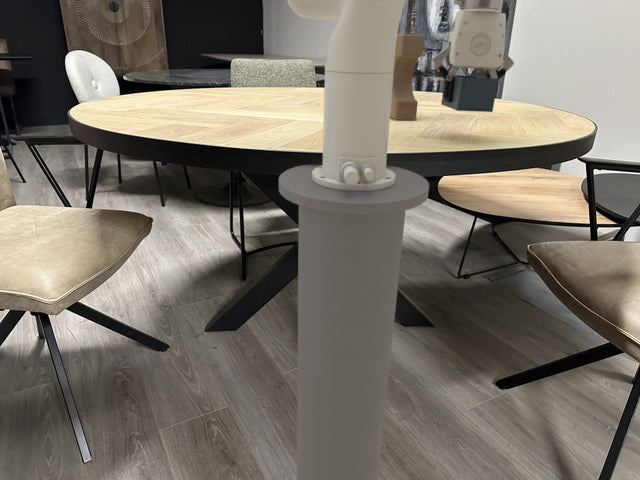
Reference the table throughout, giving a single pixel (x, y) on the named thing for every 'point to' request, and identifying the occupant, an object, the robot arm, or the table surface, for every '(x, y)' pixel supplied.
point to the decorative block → (405, 76)
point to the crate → (472, 94)
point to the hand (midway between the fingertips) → (466, 101)
